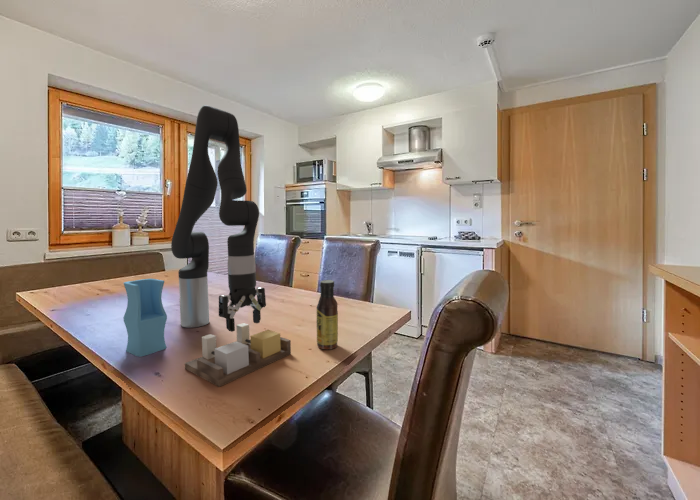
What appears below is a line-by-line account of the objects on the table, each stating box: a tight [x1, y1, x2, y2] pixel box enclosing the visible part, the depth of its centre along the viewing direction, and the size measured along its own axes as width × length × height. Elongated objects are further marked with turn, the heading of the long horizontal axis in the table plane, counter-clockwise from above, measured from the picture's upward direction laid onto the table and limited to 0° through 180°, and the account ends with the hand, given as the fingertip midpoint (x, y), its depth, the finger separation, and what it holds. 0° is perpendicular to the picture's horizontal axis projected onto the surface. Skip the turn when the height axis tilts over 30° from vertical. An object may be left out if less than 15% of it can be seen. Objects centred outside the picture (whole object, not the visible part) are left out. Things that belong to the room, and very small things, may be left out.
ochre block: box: [235, 322, 281, 358], centre depth 90 cm, size 14×6×6 cm, turn 54°
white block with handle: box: [201, 333, 249, 374], centre depth 81 cm, size 14×6×6 cm, turn 54°
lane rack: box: [184, 336, 292, 388], centre depth 85 cm, size 15×22×4 cm
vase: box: [123, 278, 168, 357], centre depth 92 cm, size 8×8×20 cm
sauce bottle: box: [316, 279, 339, 351], centre depth 94 cm, size 7×6×20 cm
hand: (244, 326), depth 93 cm, fingers open, 8 cm apart
